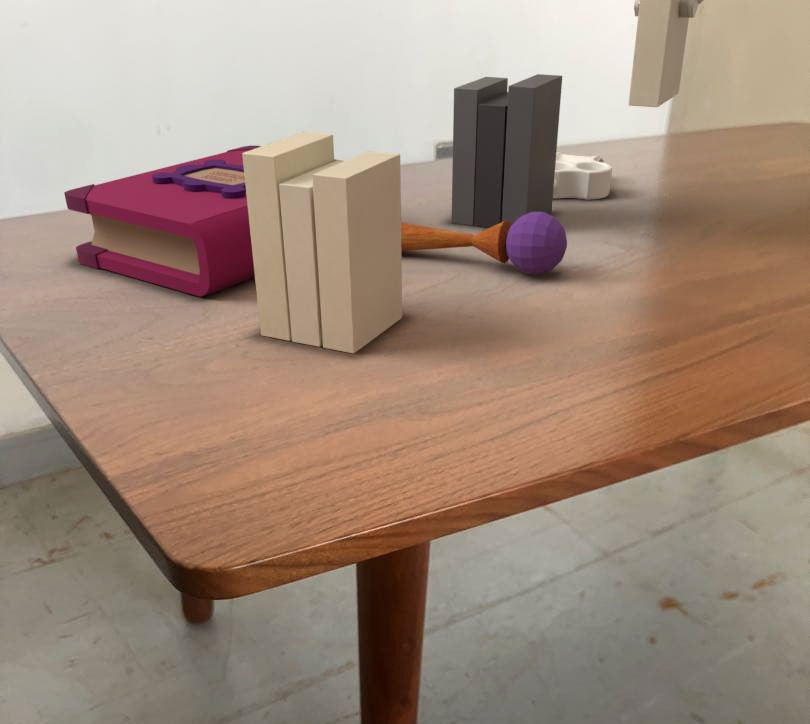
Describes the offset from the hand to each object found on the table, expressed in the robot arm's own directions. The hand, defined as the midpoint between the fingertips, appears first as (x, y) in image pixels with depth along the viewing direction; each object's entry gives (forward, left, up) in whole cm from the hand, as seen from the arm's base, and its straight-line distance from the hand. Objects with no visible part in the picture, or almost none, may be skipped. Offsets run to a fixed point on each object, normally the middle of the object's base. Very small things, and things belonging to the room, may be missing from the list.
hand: (663, 12), depth 90 cm
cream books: (+29, +30, -22) cm, 47 cm away
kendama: (+18, +11, -22) cm, 30 cm away
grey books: (+15, -6, -22) cm, 27 cm away
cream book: (0, -1, -8) cm, 8 cm away
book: (+44, +7, -22) cm, 50 cm away
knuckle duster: (+10, -22, -22) cm, 33 cm away
